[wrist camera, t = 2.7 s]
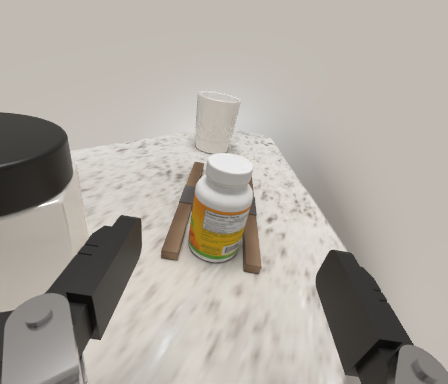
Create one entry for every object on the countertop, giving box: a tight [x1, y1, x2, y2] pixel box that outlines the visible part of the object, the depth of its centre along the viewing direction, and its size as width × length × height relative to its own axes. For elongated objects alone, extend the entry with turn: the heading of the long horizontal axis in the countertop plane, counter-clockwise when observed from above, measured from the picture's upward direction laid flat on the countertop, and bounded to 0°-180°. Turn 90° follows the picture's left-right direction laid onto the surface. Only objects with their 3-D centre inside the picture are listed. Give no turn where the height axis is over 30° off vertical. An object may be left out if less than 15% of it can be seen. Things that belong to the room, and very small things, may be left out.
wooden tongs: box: [161, 162, 261, 274], centre depth 31 cm, size 10×20×1 cm, turn 177°
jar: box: [0, 113, 89, 312], centre depth 15 cm, size 9×8×12 cm
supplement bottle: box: [188, 153, 253, 262], centre depth 23 cm, size 5×5×10 cm
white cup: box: [195, 91, 241, 154], centre depth 46 cm, size 8×8×10 cm
